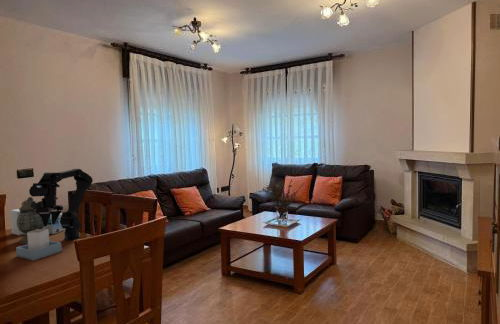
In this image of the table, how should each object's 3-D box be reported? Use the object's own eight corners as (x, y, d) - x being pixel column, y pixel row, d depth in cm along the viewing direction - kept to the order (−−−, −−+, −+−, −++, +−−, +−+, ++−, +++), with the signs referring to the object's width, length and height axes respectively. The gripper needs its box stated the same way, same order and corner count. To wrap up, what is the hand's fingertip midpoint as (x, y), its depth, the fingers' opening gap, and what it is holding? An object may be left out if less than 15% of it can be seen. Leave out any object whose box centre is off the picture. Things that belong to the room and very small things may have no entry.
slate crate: (45, 247, 174) (45, 239, 174) (61, 251, 167) (61, 242, 167) (16, 256, 162) (16, 247, 161) (32, 260, 155) (32, 251, 155)
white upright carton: (37, 250, 168) (36, 229, 167) (49, 250, 168) (48, 229, 167) (28, 254, 162) (27, 232, 161) (41, 254, 161) (39, 232, 160)
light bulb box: (53, 234, 201) (51, 216, 200) (43, 233, 202) (42, 216, 201) (66, 229, 211) (65, 213, 210) (57, 229, 213) (56, 212, 212)
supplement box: (18, 235, 200) (16, 211, 199) (11, 233, 204) (9, 210, 203) (34, 231, 207) (32, 208, 206) (27, 230, 212) (26, 207, 211)
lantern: (19, 245, 180) (15, 200, 179) (17, 239, 191) (14, 197, 190) (48, 239, 189) (45, 196, 187) (45, 234, 200) (42, 194, 199)
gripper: (42, 195, 184) (41, 223, 183) (24, 196, 165) (23, 228, 164) (63, 195, 185) (63, 223, 184) (48, 196, 167) (47, 227, 166)
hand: (49, 225), depth 175 cm, fingers open, 9 cm apart
